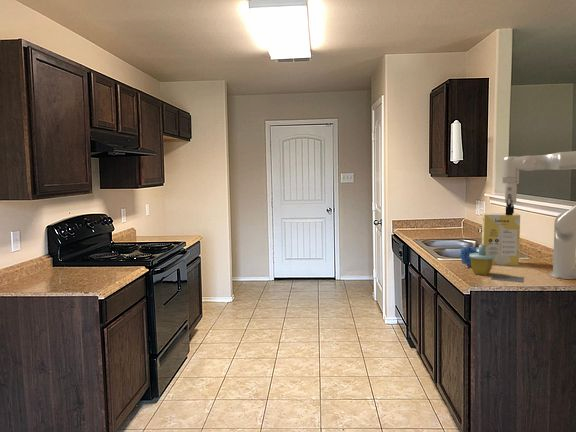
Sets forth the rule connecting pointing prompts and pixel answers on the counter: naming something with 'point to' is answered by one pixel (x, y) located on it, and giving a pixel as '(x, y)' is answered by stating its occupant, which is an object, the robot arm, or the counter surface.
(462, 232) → the counter surface
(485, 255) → the lid
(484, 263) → the flower pot
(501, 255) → the pasta box
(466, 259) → the grapes
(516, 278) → the mat
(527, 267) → the counter surface
